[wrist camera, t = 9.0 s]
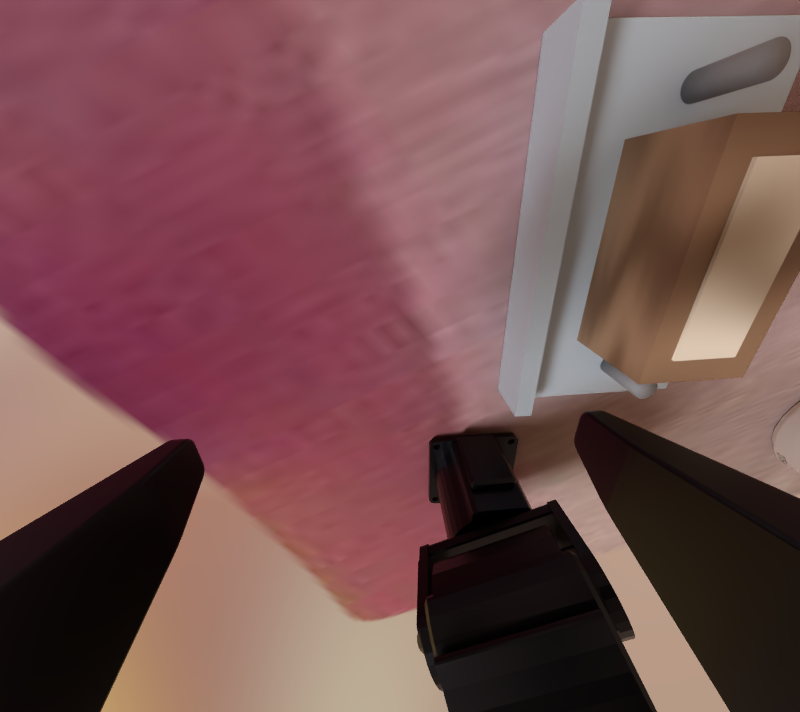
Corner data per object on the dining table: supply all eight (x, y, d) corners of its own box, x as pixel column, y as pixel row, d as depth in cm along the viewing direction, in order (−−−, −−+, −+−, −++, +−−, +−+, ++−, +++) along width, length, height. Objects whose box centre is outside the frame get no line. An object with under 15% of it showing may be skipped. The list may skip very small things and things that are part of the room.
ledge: (652, 379, 22) (708, 416, 18) (497, 389, 22) (523, 429, 18) (787, 28, 14) (939, -34, 10) (543, 33, 13) (607, -31, 10)
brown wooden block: (657, 335, 19) (746, 378, 14) (576, 340, 19) (641, 386, 14) (729, 135, 14) (893, 106, 10) (625, 139, 14) (742, 111, 10)
